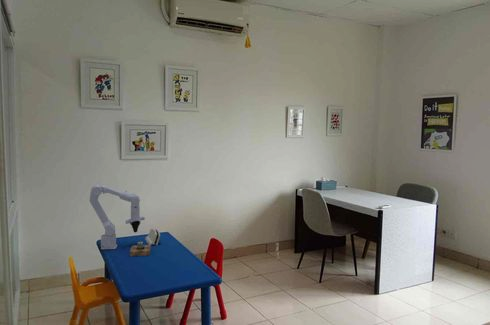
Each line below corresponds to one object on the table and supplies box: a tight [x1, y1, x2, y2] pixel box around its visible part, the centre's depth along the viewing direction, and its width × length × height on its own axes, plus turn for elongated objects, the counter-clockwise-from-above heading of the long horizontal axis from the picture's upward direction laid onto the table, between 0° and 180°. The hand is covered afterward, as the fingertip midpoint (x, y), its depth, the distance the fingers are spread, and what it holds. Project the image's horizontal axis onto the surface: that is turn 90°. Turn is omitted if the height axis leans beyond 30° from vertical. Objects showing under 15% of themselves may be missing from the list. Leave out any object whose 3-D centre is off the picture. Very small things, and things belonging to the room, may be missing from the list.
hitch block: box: [129, 244, 152, 257], centre depth 245 cm, size 12×12×3 cm
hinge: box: [144, 228, 161, 246], centre depth 268 cm, size 17×5×10 cm, turn 27°
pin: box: [136, 240, 144, 250], centre depth 245 cm, size 4×4×7 cm
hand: (135, 232), depth 259 cm, fingers closed
